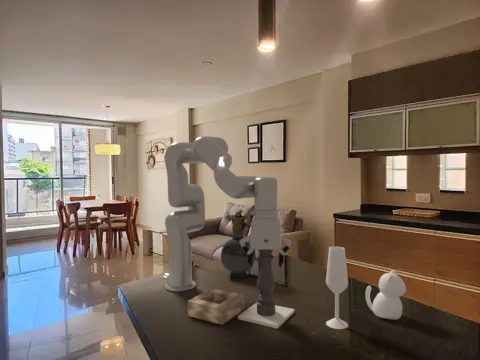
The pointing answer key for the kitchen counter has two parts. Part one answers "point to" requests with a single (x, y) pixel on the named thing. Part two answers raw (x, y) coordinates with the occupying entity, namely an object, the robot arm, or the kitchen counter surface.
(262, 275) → the candle holder
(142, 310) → the kitchen counter surface
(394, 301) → the cat figurine
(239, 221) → the pitcher
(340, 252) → the champagne flute
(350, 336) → the kitchen counter surface
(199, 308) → the socket block
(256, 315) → the ceramic tile
